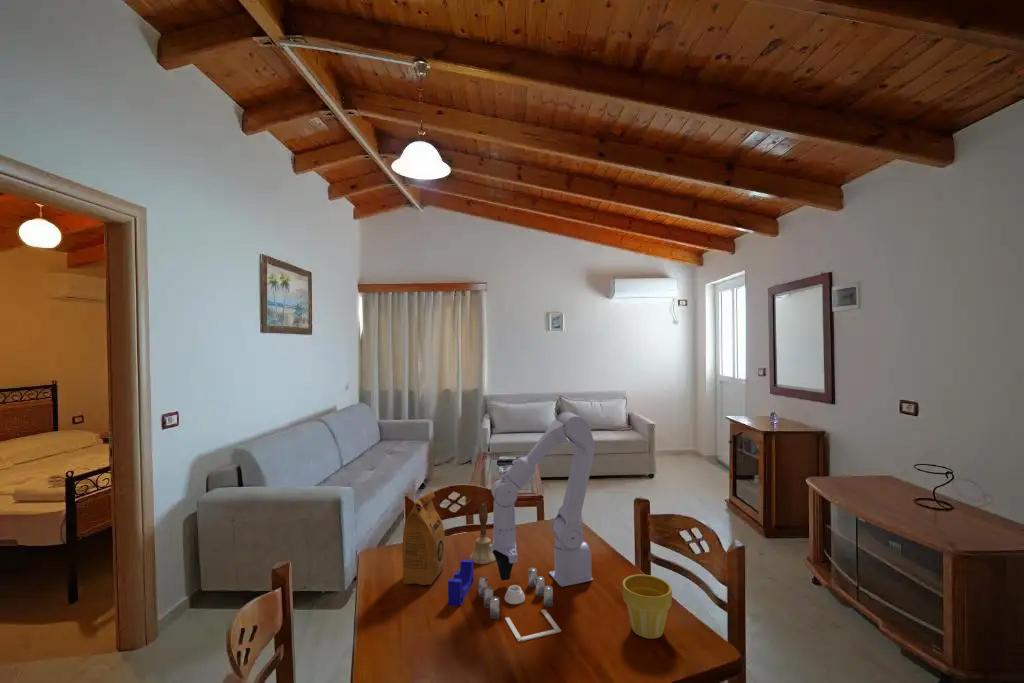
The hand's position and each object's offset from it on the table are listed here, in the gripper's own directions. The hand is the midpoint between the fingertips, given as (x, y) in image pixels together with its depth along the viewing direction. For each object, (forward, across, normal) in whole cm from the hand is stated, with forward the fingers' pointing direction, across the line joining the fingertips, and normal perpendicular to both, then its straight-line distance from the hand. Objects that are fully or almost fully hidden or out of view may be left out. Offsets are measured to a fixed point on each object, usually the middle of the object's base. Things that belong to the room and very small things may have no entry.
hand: (505, 578), depth 123 cm
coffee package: (+2, -12, -19) cm, 23 cm away
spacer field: (+2, +8, 0) cm, 8 cm away
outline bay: (+2, +18, 0) cm, 19 cm away
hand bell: (+2, -18, -1) cm, 18 cm away
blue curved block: (+2, -1, -12) cm, 12 cm away
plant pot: (+2, +30, +23) cm, 38 cm away
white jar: (+2, +7, 0) cm, 8 cm away
